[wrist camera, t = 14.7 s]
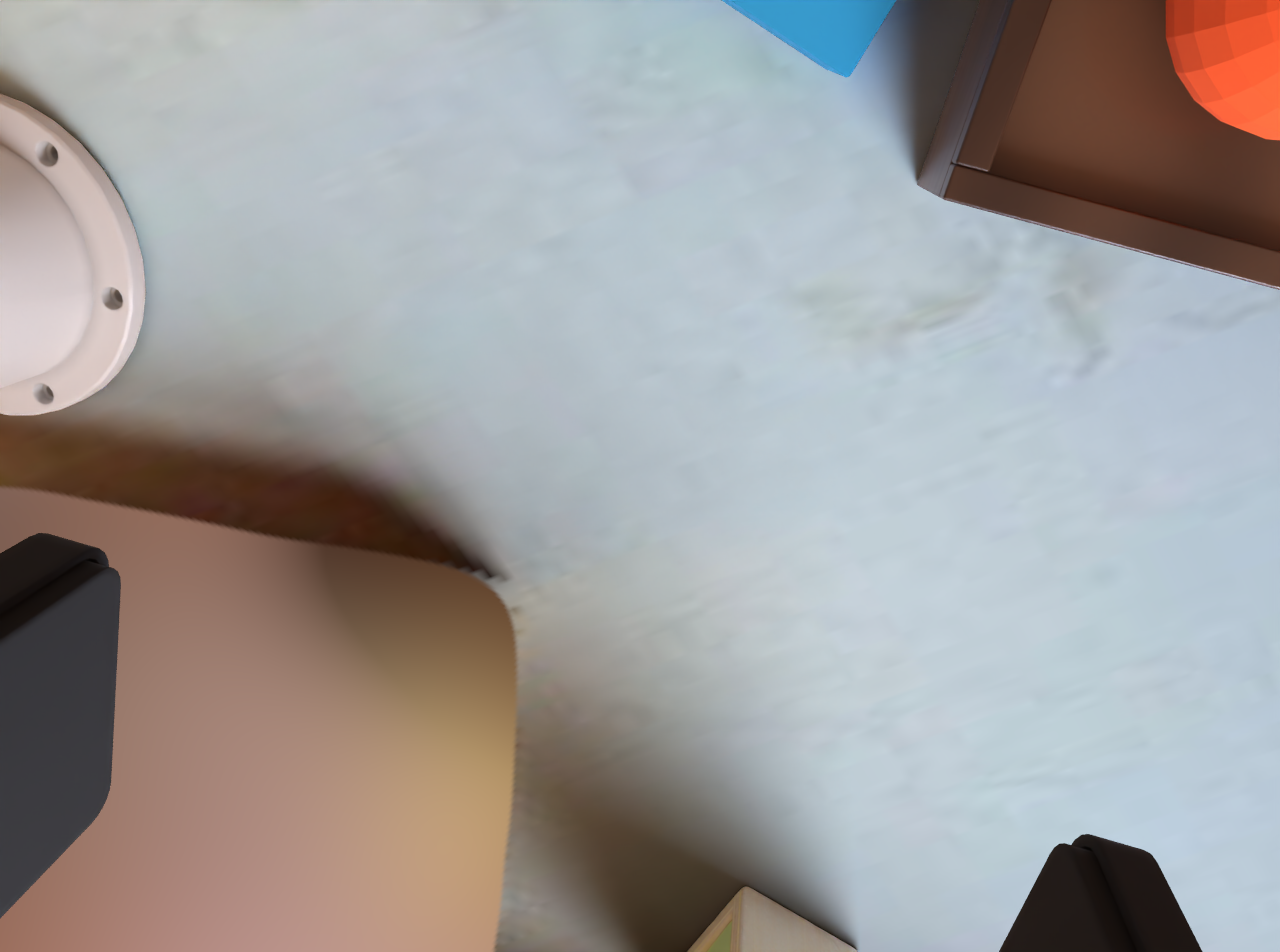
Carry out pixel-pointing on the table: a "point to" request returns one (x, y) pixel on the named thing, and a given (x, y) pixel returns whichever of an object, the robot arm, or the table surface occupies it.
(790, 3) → the lever
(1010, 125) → the tray
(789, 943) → the tall white pillar block
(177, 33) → the table surface
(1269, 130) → the clementine
